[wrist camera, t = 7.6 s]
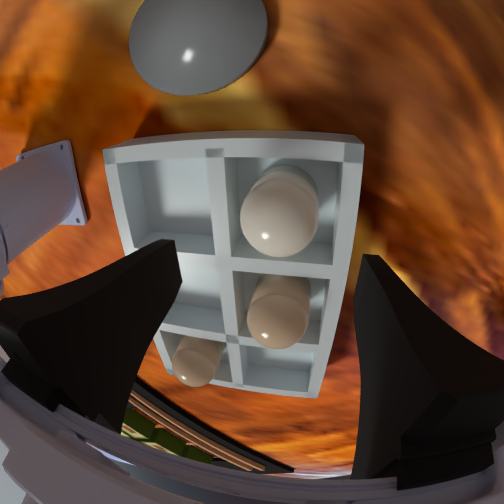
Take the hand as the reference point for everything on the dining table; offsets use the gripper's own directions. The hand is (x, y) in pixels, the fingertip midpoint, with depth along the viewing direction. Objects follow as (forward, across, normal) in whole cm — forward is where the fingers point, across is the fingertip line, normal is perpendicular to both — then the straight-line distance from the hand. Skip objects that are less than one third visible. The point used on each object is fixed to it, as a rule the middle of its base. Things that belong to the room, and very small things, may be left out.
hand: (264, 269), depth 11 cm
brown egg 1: (+8, +7, +14) cm, 17 cm away
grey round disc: (+9, +5, -11) cm, 15 cm away
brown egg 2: (+8, 0, +7) cm, 10 cm away
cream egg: (+8, 0, 0) cm, 8 cm away
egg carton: (+9, +3, +7) cm, 12 cm away
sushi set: (+10, +26, +56) cm, 63 cm away
